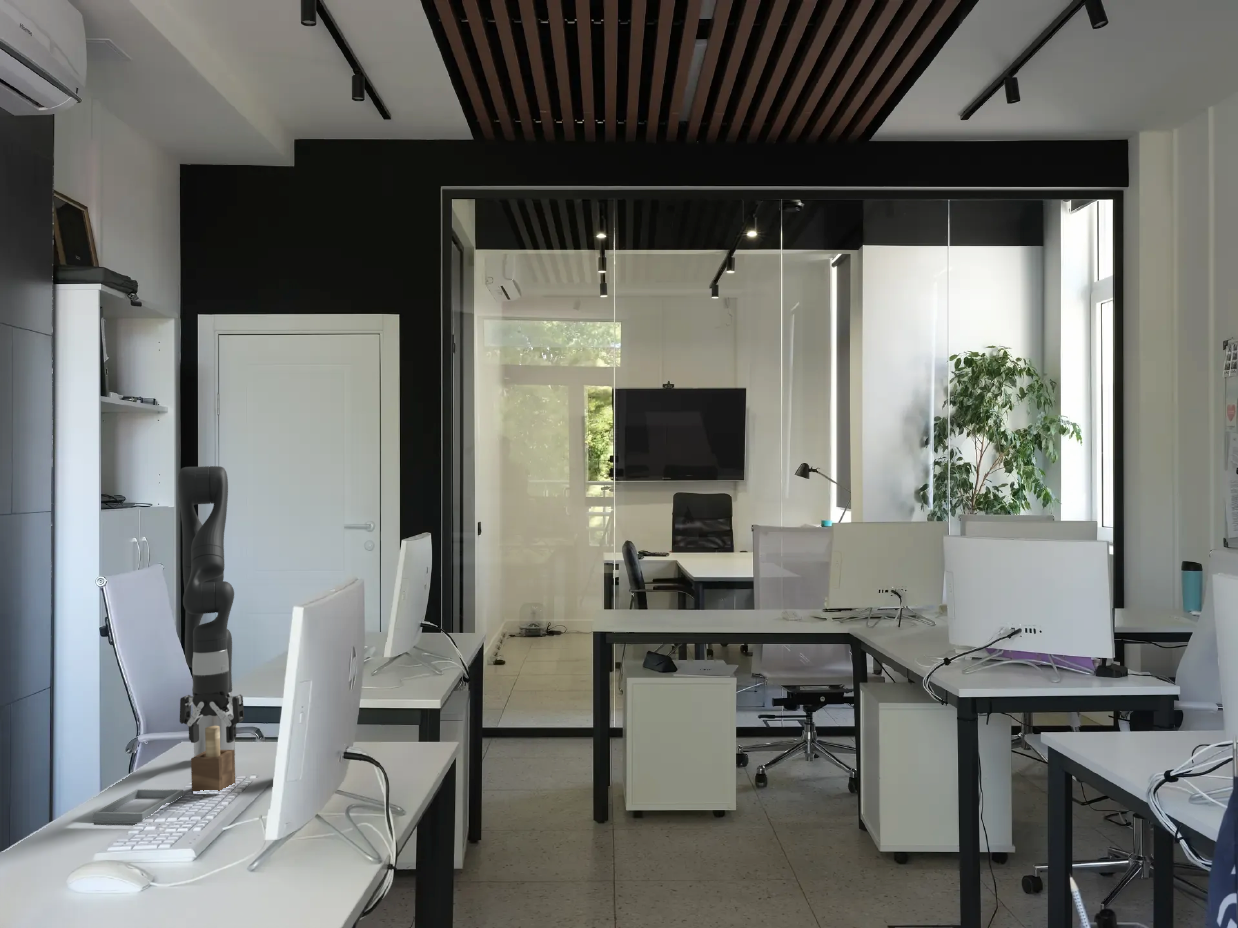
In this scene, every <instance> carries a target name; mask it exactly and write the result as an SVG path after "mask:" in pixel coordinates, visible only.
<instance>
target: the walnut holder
mask: <svg viewBox="0 0 1238 928" xmlns="http://www.w3.org/2000/svg"><path fill="white" fill-rule="evenodd" d="M235 759H236V749H235V750H220V755H219V756H218V757H206V751H204V752H202V753H200V754H198V755H197V756H195V757H194V756H193V757H191V759H190V770H191V771H190V772H191V773H190V775H191V792H192V791H200V790H203V791H204V790H218V791H220V790H222V789H223V788H226V787H228V786H229V785H232V784H233V783H235V784H236V760H235Z"/></svg>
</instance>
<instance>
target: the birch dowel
mask: <svg viewBox="0 0 1238 928" xmlns="http://www.w3.org/2000/svg"><path fill="white" fill-rule="evenodd" d="M205 743H206V757H218V756H219V755H220V726H210V727H206V728H205Z"/></svg>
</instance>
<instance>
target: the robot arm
mask: <svg viewBox="0 0 1238 928" xmlns="http://www.w3.org/2000/svg"><path fill="white" fill-rule="evenodd" d="M177 486H178V487H177V488H178V489H177V490H178V498H179V509H180V518H181V530H182V574H183V575H182V576H183V577H182V579H183V587H184V593H183V597H182V605H183V607H184V610H185V624H184V625H185V626H184V627H185V629H184V657H185V661H186V662H185V663H186V665H187V666H188V667H189V668H191V670H192V692H191V693H192V695H191V694H187V695H185V696H182V697H180V699H179V723H180V724H181V725H182V724H185V725H187V727H188V739H189V741H190V743H191V744H193V755H194V756H193V757H195V756H197V755H198V754H200V753H202V752H204V751H206V743H205V728H206V727H210V726H220V750H235V751H236V745H235V744H236V742H235V739H237V725H238V724H239V723H241V722H243V721H244V720H245V710H244V698H243V695H242V694H238V695H233V682H232V681H233V677H232V675H233V674H232V665H233V664H232V663H233V662H232V660H233V638H232V633H231V631H230V629H228V622H229V617H230V613H231V611H232V606H233V603H234V599H235V590H234V589H235V588H234V587H233V586H232V584H231V583H230V582H229V581H225V580H224V578H225V548H224V547H225V545H224V543H225V539H224V538H225V529H226V521H227V514H228V513H227V512H228V511H227V510H228V499H229V481H228V474H227V471H226V469H225V468H224V467H223V466H218V465H213V466H211V465H210V466H209V465H208V466H185V467H184V466H183V467H182V468H180V470H179V472H178V478H177ZM210 504H212V505H213V506H212V510H211V512H210V514H209V515H208V516H207V519H206V520H205V522H204V523H203V524H202V522H201V521H200V519H199V516H198V515H197V512H196V509H195V507H194V506H195V505H210ZM214 613H217V615H216V617H215V618H214V619H213V620H211V621H209V622H205V623H202V624H201V621H202V618H203V616H204V614H206V615H207V614H214ZM191 711H192V712H191Z"/></svg>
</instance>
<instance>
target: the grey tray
mask: <svg viewBox="0 0 1238 928" xmlns="http://www.w3.org/2000/svg"><path fill="white" fill-rule="evenodd" d="M181 796H183V797H184V789H175V788H174V789H168V788H167V789H164V788H162V789H161V788H160V789H157V788H152V789H151V788H136V789H135V790H132V791H131V792H129V793H127V794H126V795H123V796H122V797H120V798H118V799H116V800H113V802H112V801H111V803H109V804H106V805H105V806H103V807H102V808H100V809H97V810H96V811H94V812H93V814H92V815H93V818H92V820H93V826H129V827H130V826H132V827H133V825H135V824H137V823H138V822H143V821H142V820H143V819H144V818H146V817H148V816H150V817H152V816H151V814H153V813H154V812H155V811H157V810H158V809H159V808H160V807H161V806H162V805H165V804H166V803H171V802H173V801H175V800H176V799H178V798H179V797H181ZM137 798H164V799H162V800H160V801H159V802H157V803H156V804H154V805H152V806H150V807H148V808H147V809H145V810H143V811H142V812H135V811H134V812H126V811H124V812H123V811H121V812H120V811H119V812H117V811H116V810H117V809H119V808H121V807H123V806H125V805H126V804H129V803H130V802H131V801H133V800H136V799H137ZM175 802H176V801H175ZM94 821H95V822H94ZM97 821H103V822H97ZM104 821H105V822H104ZM108 821H109V822H108ZM110 821H111V822H110ZM112 821H113V822H112ZM116 821H117V822H116Z"/></svg>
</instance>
